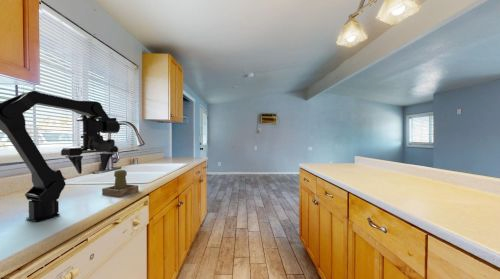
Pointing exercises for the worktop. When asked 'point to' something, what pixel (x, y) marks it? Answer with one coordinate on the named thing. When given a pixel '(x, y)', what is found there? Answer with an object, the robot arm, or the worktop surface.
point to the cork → (120, 179)
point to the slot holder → (120, 191)
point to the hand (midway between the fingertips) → (92, 171)
